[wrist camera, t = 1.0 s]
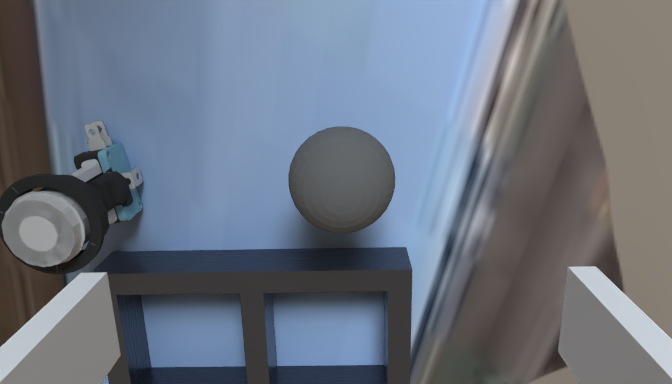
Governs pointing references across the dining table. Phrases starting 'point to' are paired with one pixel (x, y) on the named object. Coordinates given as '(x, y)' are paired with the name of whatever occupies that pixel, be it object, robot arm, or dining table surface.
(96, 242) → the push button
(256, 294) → the rectangular frame
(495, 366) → the dining table surface
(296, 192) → the light bulb
